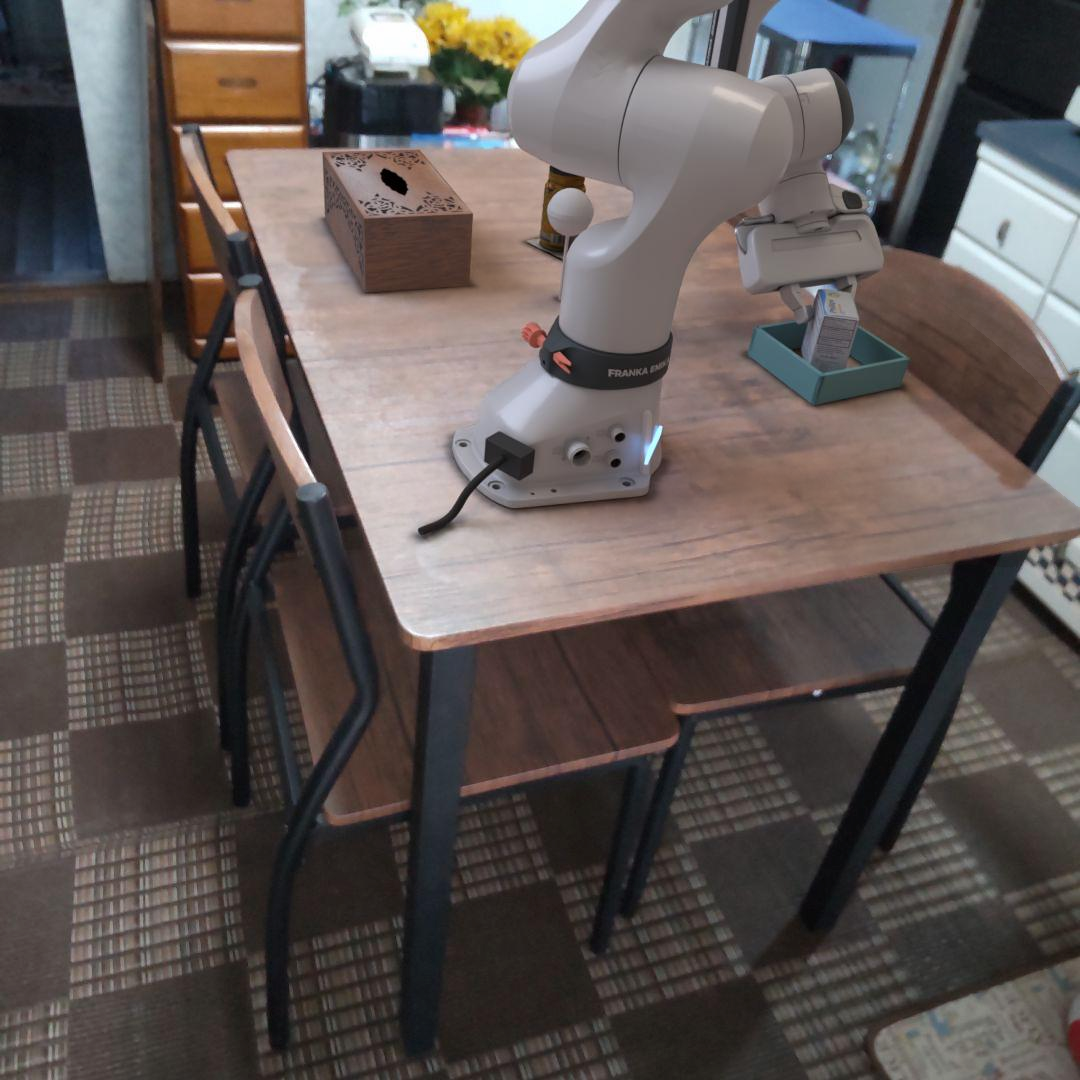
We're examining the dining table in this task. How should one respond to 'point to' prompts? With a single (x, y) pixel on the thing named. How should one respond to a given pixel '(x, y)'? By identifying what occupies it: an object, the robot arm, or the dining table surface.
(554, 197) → the lollipop
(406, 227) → the tissue box cover
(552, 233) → the condiment
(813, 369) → the storage box
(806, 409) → the dining table surface
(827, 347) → the medicine box
